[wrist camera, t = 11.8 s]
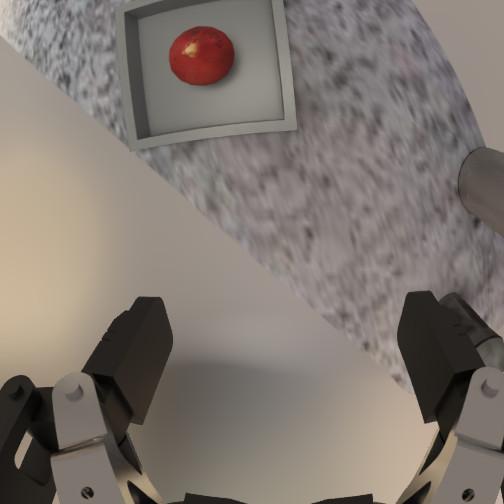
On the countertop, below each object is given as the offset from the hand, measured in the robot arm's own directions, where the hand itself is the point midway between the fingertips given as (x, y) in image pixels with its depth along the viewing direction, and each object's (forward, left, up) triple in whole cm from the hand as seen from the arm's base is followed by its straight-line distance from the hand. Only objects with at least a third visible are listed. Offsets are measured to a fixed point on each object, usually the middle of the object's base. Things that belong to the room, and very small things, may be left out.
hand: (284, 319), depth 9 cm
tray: (+6, -12, -25) cm, 28 cm away
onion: (+5, -12, -24) cm, 27 cm away
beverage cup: (-25, +21, -25) cm, 41 cm away
